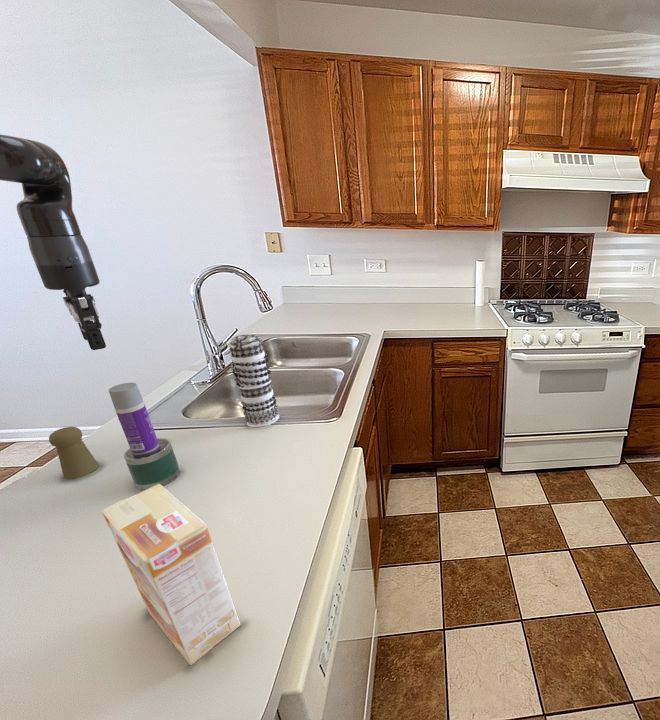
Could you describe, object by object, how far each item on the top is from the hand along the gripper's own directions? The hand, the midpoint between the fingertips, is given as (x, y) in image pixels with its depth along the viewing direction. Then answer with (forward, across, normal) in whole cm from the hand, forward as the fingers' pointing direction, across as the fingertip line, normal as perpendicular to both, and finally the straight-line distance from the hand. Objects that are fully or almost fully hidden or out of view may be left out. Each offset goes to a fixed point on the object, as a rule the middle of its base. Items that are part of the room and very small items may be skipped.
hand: (95, 343), depth 79 cm
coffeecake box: (+32, +48, -3) cm, 57 cm away
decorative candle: (+32, -5, +28) cm, 43 cm away
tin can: (+32, +4, +2) cm, 32 cm away
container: (+24, +4, +2) cm, 24 cm away
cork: (+32, -13, -9) cm, 36 cm away
